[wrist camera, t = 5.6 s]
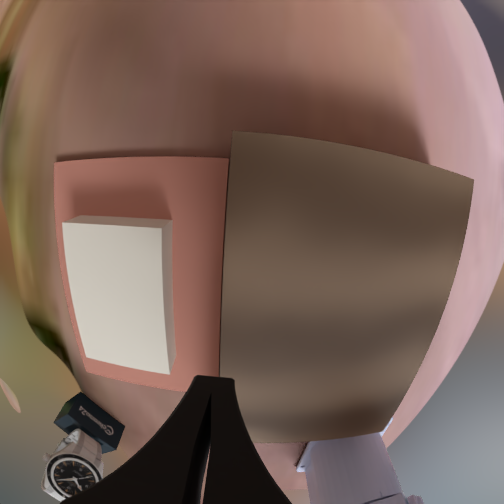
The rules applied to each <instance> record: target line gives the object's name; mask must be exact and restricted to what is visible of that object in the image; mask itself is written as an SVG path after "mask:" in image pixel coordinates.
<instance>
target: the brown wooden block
mask: <svg viewBox="0 0 504 504" xmlns="http://www.w3.org/2000/svg"><path fill="white" fill-rule="evenodd" d="M473 184H474V180H473V179H471V178H468V177H465V176H463V175H460V174H457V173H454V172H451V171H448V170H445V169H442V168H439V167H435V166H432V165H429V164H425V163H422V162H419V161H415V160H411V159H408V158H404V157H400V156H396V155H392V154H388V153H384V152H380V151H375V150H371V149H366V148H361V147H356V146H351V145H346V144H341V143H335V142H329V141H323V140H317V139H310V138H303V137H295V136H287V135H278V134H268V133H257V132H244V131H232V143H231V155H230V168H229V182H228V196H227V212H226V228H225V246H224V265H223V287H222V312H221V344H220V377H226V378H233V379H234V380H235V391H236V396H237V401H238V404H239V408H240V412H241V415H242V417H243V420H244V423H245V426H246V429H247V431H248V433H249V436H250V438H251V440H252V442H253V443H292V442H310V441H322V440H332V439H340V438H348V437H355V436H361V435H367V434H372V433H378V432H383V430H384V429H385V427H386V426H387V424H388V423H389V421H390V420H391V418H392V416H393V415H394V413H395V412H396V410H397V408H398V407H399V405H400V403H401V401H402V400H403V398H404V396H405V394H406V393H407V391H408V389H409V387H410V385H411V383H412V382H413V380H414V378H415V376H416V374H417V372H418V370H419V368H420V366H421V364H422V362H423V359H424V357H425V355H426V353H427V351H428V349H429V346H430V344H431V342H432V339H433V337H434V335H435V332H436V330H437V327H438V325H439V322H440V320H441V317H442V314H443V311H444V309H445V306H446V303H447V300H448V297H449V294H450V291H451V288H452V285H453V281H454V278H455V275H456V271H457V267H458V264H459V260H460V256H461V252H462V248H463V243H464V239H465V234H466V229H467V224H468V219H469V213H470V207H471V200H472V192H473Z"/></svg>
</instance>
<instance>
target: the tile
mask: <svg viewBox="0 0 504 504" xmlns="http://www.w3.org/2000/svg"><path fill="white" fill-rule="evenodd" d="M172 225H173V220H166V219H149V218H131V217H111V216H88V215H80V216H77V217H75V218H72V219H70V220H67V221H65V222H62V228H63V240H64V250H65V258H66V266H67V273H68V279H69V285H70V291H71V297H72V302H73V307H74V311H75V316H76V320H77V324H78V329H79V333H80V336H81V340H82V344H83V347H84V351H85V354H86V357H87V358H91V359H95V360H99V361H103V362H107V363H111V364H116V365H120V366H125V367H129V368H134V369H139V370H145V371H150V372H156V373H162V374H168V375H170V373H171V370H172V367H173V364H174V361H175V358H176V345H175V330H174V310H173V279H172Z"/></svg>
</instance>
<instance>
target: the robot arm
mask: <svg viewBox="0 0 504 504" xmlns="http://www.w3.org/2000/svg"><path fill="white" fill-rule="evenodd" d="M392 420H393V417H392V418H391V420H390V421H389V423H388V424H387V426H386V427H385V429H384V430H383V432H378V433H372V434H367V435H361V436H355V437H348V438H340V439H332V440H322V441H310V442H308V444H307V446H306V449H305V451H304V453H303V455H302V457H301V459H300V461H299V463H298V465H297V467H296V471H297V472H305V473H306V479H307V486H308V491H309V498H310V504H424V502H423V500H422V498H421V497H420V496H415V495H411V496H409V497H408V498H407V497H406V496H405V495H404V494H403V491H402V488H401V485H400V483H399V480H398V478H397V475H396V472H395V470H394V467H393V465H392V462H391V460H390V457H389V455H388V452H387V450H386V447H385V445H384V442H383V440H382V435H383V434H384V432H385V431H386V429H387V428H388V426H389V425H390V423H391V422H392ZM210 444H211V445H210ZM209 449H210V454H209ZM208 454H209V462H208V469H207V477H206V484H205V491H204V498H203V504H292V503H291V502H290V501H289V499H288V498H287V497H286V495H285V494H284V493H283V492H282V490H281V489H280V488H279V486H278V485H277V484H276V482H275V481H274V479H273V478H272V476H271V475H270V473H269V472H268V470H267V468H266V467H265V465H264V463H263V462H262V460H261V458H260V456H259V454H258V453H257V451H256V449H255V447H254V444H253V442H252V440H251V438H250V436H249V433H248V431H247V429H246V426H245V423H244V420H243V417H242V415H241V412H240V408H239V404H238V401H237V396H236V391H235V380H234V379H233V378H226V377H215V376H205V375H196V376H194V378H193V380H192V382H191V384H190V386H189V388H188V390H187V391H186V393H185V395H184V396H183V398H182V399H181V401H180V403H179V404H178V405H177V407H176V408H175V410H174V411H173V412H172V414H171V415H170V417H169V418H168V419H167V420H166V422H165V423H164V424H163V425H162V426H161V428H160V429H159V430H158V431H157V432H156V434H155V435H154V436H153V437H152V438H151V439H150V440H149V441H148V442H147V443H146V444H145V445H144V446H143V447H142V448H141V449H140V450H139V451H138V452H137V453H136V454H135V455H134V456H132V457H131V458H130V459H129V460H128V461H127V462H125V463H124V464H123V465H122V466H120V467H119V468H118V469H117V470H115V471H114V472H113V473H111V474H109V475H108V476H106V477H105V478H103V479H102V480H100V481H99V482H97V483H96V484H94V485H92V486H91V487H89V488H87V489H85V490H83V491H81V492H79V493H77V494H75V495H73V496H71V497H68V498H66V499H64V500H62V501H61V503H60V504H200V498H201V489H202V482H203V477H204V473H205V468H206V463H207V459H208Z"/></svg>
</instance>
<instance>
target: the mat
mask: <svg viewBox="0 0 504 504" xmlns="http://www.w3.org/2000/svg"><path fill="white" fill-rule="evenodd" d="M228 171H229V158H211V157H168V156H159V157H117V158H99V159H85V160H73V161H63V162H54V205H55V222H56V234H57V244H58V252H59V260H60V266H61V273H62V279H63V284H64V290H65V295H66V300H67V304H68V309H69V313H70V317H71V321H72V325H73V329H74V333H75V337H76V340H77V344H78V347H79V350H80V353H81V357H82V360H83V363H84V366H85V369H86V372H89V373H93V374H97V375H100V376H104V377H108V378H112V379H117V380H121V381H125V382H130V383H135V384H140V385H145V386H150V387H156V388H162V389H168V390H175V391H182V392H186V391H187V390H188V388H189V386H190V384H191V382H192V380H193V378H194V376H196V375H205V376H215V377H219V359H220V322H221V294H222V271H223V250H224V232H225V215H226V199H227V185H228ZM80 215H88V216H111V217H131V218H149V219H166V220H173V225H172V279H173V310H174V330H175V345H176V358H175V361H174V364H173V367H172V370H171V373H170V375H168V374H162V373H156V372H150V371H145V370H139V369H134V368H129V367H125V366H120V365H116V364H111V363H107V362H103V361H99V360H95V359H91V358H87V357H86V354H85V351H84V347H83V344H82V340H81V336H80V333H79V329H78V324H77V320H76V316H75V311H74V307H73V302H72V297H71V291H70V285H69V279H68V273H67V266H66V258H65V250H64V240H63V228H62V222H65V221H67V220H70V219H72V218H75V217H77V216H80Z"/></svg>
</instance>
